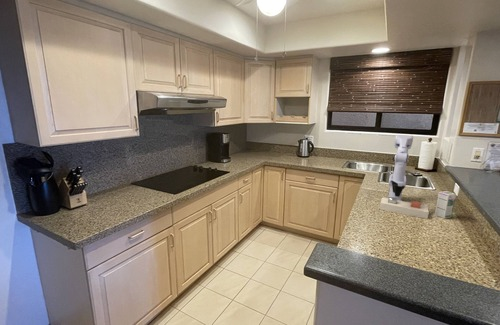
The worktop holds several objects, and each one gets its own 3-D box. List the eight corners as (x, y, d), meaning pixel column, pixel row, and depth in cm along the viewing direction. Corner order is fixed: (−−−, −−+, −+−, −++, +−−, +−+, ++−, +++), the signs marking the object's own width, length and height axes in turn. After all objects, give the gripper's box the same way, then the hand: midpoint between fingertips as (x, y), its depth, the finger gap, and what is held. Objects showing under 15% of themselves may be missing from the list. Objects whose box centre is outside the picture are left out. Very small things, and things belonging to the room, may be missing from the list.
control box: (381, 203, 160) (382, 197, 159) (425, 211, 148) (427, 205, 147) (379, 209, 150) (380, 202, 149) (427, 218, 138) (428, 212, 137)
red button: (409, 207, 149) (410, 200, 148) (419, 209, 146) (421, 202, 145) (409, 210, 145) (411, 203, 144) (420, 212, 142) (421, 205, 141)
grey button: (387, 203, 155) (388, 196, 154) (396, 204, 152) (397, 198, 151) (386, 205, 151) (387, 198, 150) (396, 207, 148) (397, 200, 147)
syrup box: (444, 218, 138) (449, 194, 135) (434, 214, 144) (438, 191, 141) (451, 217, 140) (457, 193, 137) (441, 213, 145) (446, 190, 142)
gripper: (389, 169, 154) (386, 190, 156) (393, 174, 140) (390, 197, 143) (402, 170, 151) (399, 191, 154) (407, 176, 138) (404, 199, 141)
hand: (395, 194), depth 148 cm, fingers open, 7 cm apart
